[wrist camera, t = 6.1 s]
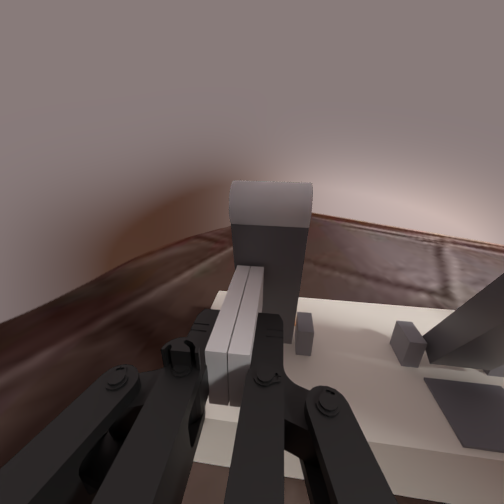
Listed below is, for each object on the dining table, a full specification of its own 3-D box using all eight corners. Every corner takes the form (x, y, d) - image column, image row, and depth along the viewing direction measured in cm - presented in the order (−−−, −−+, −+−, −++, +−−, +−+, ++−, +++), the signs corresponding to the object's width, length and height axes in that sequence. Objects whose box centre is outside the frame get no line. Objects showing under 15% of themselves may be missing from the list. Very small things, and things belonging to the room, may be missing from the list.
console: (448, 346, 27) (473, 289, 24) (594, 527, 14) (684, 454, 11) (221, 323, 30) (218, 270, 27) (172, 457, 17) (157, 385, 14)
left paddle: (291, 320, 21) (310, 175, 13) (291, 346, 19) (313, 195, 11) (245, 316, 21) (236, 173, 13) (240, 340, 19) (227, 192, 12)
